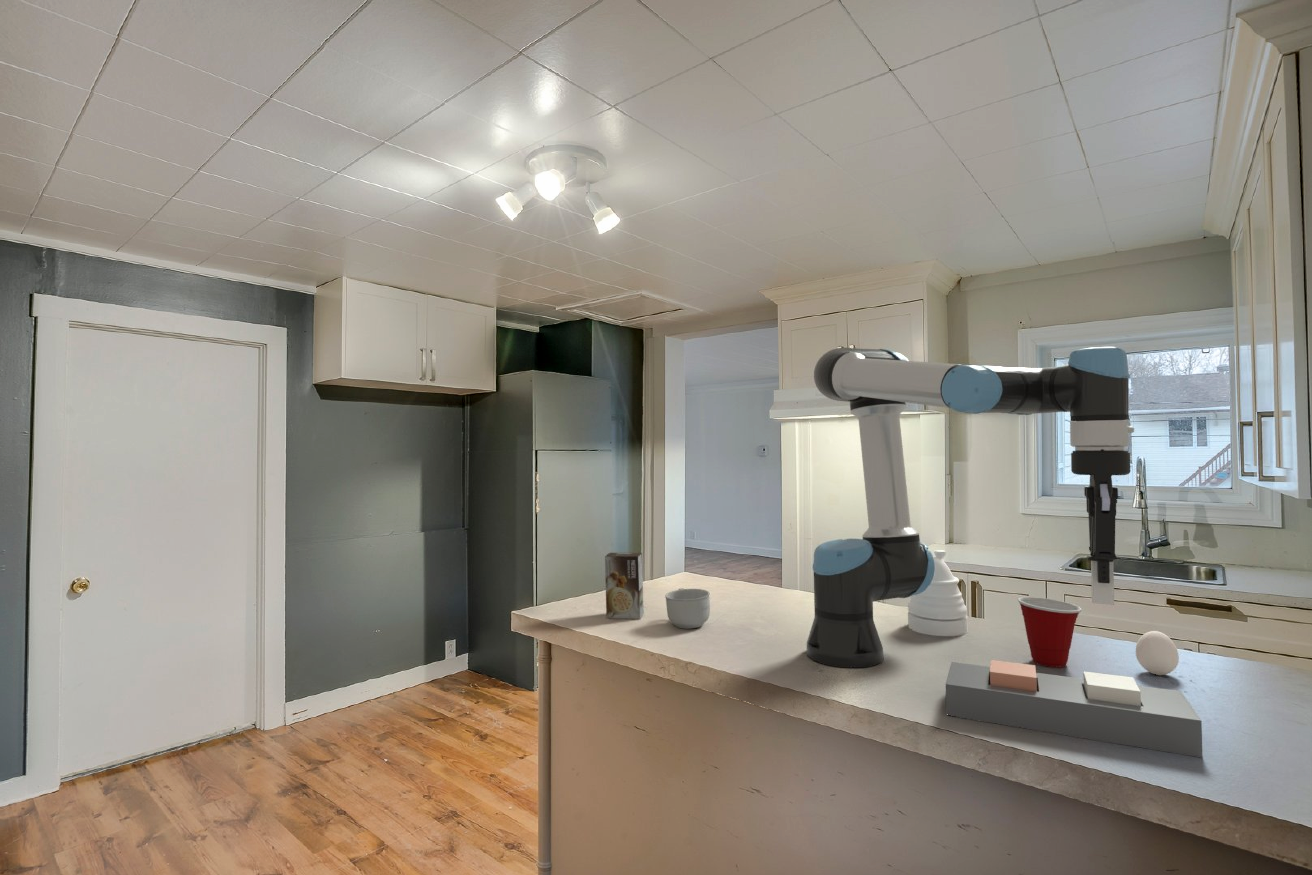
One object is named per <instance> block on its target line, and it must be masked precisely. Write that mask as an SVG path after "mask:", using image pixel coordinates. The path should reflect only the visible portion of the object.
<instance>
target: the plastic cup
mask: <svg viewBox="0 0 1312 875" xmlns="http://www.w3.org/2000/svg"><path fill="white" fill-rule="evenodd" d="M1017 601H1018V603H1019V605H1020V610H1021V614H1022V616H1023V620H1024V621H1023V622H1024V627H1025V628H1024V629H1025V632H1026V637H1027V644H1028V646H1029V650H1030V656H1031V657H1030V658H1031V659H1032V661H1033V663H1035V664H1036V663H1038V664H1037V665H1039V664H1040V665H1039V666H1042V665H1043V667H1050V668H1063V667H1064V666H1065V665H1066V664H1067V665H1068V662H1069V655H1070V649H1071V646H1072V642H1073V641H1072V640H1073V634H1074V631H1075V630H1074V629H1075V625H1076V622H1077V619H1078V617H1079V614H1080V613H1081V612H1082V608H1081V607H1080V606H1079V605H1077V604H1074V603H1070V602H1067V601H1062V600H1057V599H1054V598H1053V599H1051V598H1045V597H1039V596H1038V597H1037V596H1036V597H1034V596H1033V597H1032V596H1022V597H1018V598H1017ZM1067 665H1066V666H1067ZM1066 666H1065V667H1066Z"/></svg>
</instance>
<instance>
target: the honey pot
mask: <svg viewBox="0 0 1312 875" xmlns="http://www.w3.org/2000/svg"><path fill="white" fill-rule="evenodd" d="M933 553H934V555H935V556H933V558H934V564H935V571H934V577H933V580H932V582H931V584H930V585H929V586H928V587H927V589H926V590H925V591H923V592H922V593H920V594H917V595H912V596H910V600H909V602H908V603H907V611H908V612H907V627H908V628H909V629H910V630H911V629H912V630H911V631H914V632H916V633H919V634H924V635H929V636H937V637H959V636H963V635H965V634H968V631H969V630H968V628H969V626H968V608H967V606H966V605H965V601H964V599H963V596H962V595H963V593H962V592H961V591H960V588H959V586H958V584H959V582H960V579H959V578H958V577H957V576H954V575H953V573H952V571H951V568H949V566H948V564H947V563H946V562H945V561H944V560H943V559H944V558H945V557H946V553H947V552H946V550H943V549H934V551H933Z"/></svg>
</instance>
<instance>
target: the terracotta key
mask: <svg viewBox="0 0 1312 875" xmlns="http://www.w3.org/2000/svg"><path fill="white" fill-rule="evenodd" d="M989 667H990V685H993V686H1001V687H1008V688H1015V689H1022V690H1029V691H1036V692H1037V677H1036V673H1037V670H1036V668H1037V667H1036V665H1035V664H1026V663H1021V662H1020V663H1019V662H1012V661H1011V662H1010V661H1002V660H994V659H991V660H990V666H989Z"/></svg>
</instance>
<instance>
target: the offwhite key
mask: <svg viewBox="0 0 1312 875" xmlns="http://www.w3.org/2000/svg"><path fill="white" fill-rule="evenodd" d="M1082 675H1083V679H1084V694H1085V697H1086V699H1093V700H1101V701H1108V702H1115V703H1122V704H1129V705H1136V706H1141V692H1140V690H1139V688H1138V686H1139V685H1137V682H1136V680H1135V678H1134V677H1133V676H1125V675H1116V674H1110V673H1109V674H1107V673H1101V672H1093V671H1083V673H1082Z"/></svg>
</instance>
